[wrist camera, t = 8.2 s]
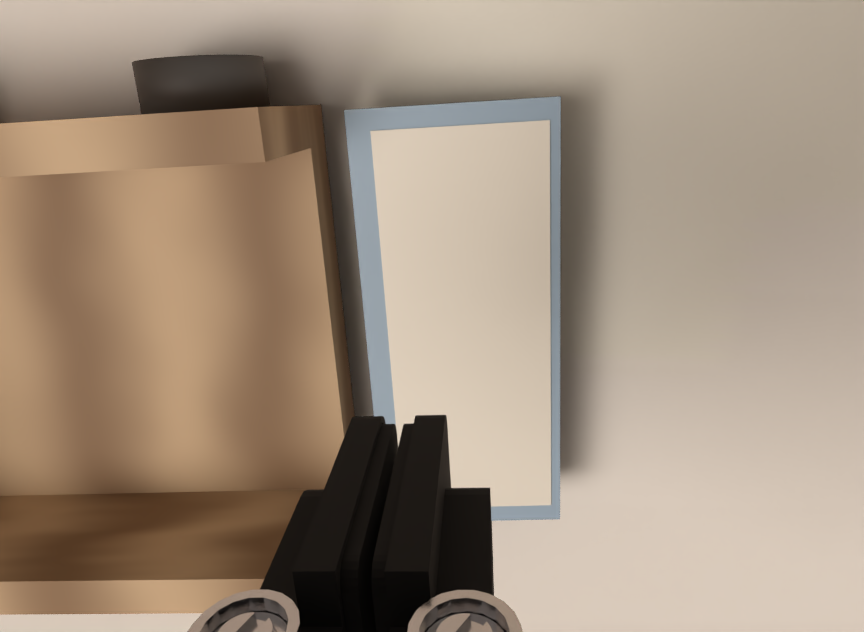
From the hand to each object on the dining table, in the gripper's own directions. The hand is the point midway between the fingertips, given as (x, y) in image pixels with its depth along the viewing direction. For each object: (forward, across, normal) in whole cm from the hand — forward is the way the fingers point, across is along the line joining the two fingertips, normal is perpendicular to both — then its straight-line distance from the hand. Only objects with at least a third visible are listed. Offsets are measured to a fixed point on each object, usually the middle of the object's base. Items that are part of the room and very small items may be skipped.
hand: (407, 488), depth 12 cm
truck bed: (+11, +12, +1) cm, 16 cm away
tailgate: (+10, +2, 0) cm, 10 cm away
